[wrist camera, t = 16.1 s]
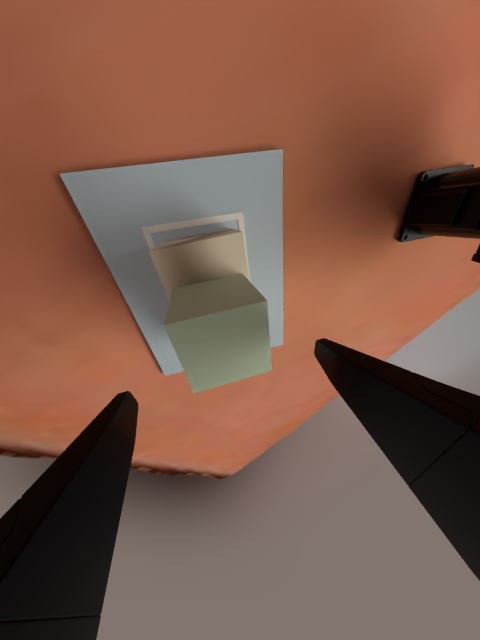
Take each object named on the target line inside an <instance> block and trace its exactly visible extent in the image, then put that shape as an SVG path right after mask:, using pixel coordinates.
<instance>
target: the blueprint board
mask: <svg viewBox="0 0 480 640" xmlns="http://www.w3.org/2000/svg"><path fill="white" fill-rule="evenodd" d="M60 176H61V178H62V180H63V182H64V184H65V186H66V188H67V189H68V191H69V193H70V195H71V197H72V199H73V201H74V203H75V205H76V207H77V209H78V210H79V212H80V214H81V216H82V218H83V220H84V222H85V224H86V226H87V228H88V230H89V231H90V233H91V235H92V237H93V239H94V241H95V243H96V245H97V247H98V249H99V251H100V252H101V254H102V256H103V258H104V260H105V262H106V264H107V266H108V268H109V270H110V272H111V273H112V275H113V277H114V279H115V281H116V283H117V285H118V287H119V289H120V291H121V293H122V294H123V296H124V298H125V300H126V302H127V304H128V306H129V308H130V310H131V312H132V314H133V315H134V317H135V319H136V321H137V323H138V325H139V327H140V329H141V331H142V333H143V335H144V336H145V338H146V340H147V342H148V344H149V346H150V348H151V350H152V352H153V354H154V356H155V358H156V359H157V361H158V363H159V365H160V367H161V369H162V371H163V373H164V375H165V376H167V375H171V374H174V373H178V372H182V371H184V370H183V368H182V365H181V363H180V361H179V359H178V357H177V354H176V352H175V350H174V348H173V345H172V343H171V341H170V339H169V337H168V334H167V332H166V330H165V328H164V322H165V318H166V314H167V311H168V307H169V303H170V300H169V298H168V296H167V293H166V291H165V289H164V286H163V284H162V282H161V279H160V277H159V275H158V272H157V270H156V268H155V265H154V263H153V261H152V258H151V256H150V254H149V251H150V250H152V249H153V248H154V247H156V246H157V245H158V244H160V243H161V242H166V241H170V240H175V239H180V238H185V237H189V236H194V235H199V234H203V233H208V232H213V231H217V230H222V229H227V228H231V229H235V230H238V231H242V233H243V240H244V247H245V253H246V260H247V267H248V274H249V280H250V282H251V283H252V284H253V286H254V287H255V288H256V289H257V290H258V291H259V292H260V293H261V294H262V295H263V296H264V298H265V299H266V300H267V303H268V318H269V334H270V348H272V347H276V346H280V345H283V149H277V150H268V151H259V152H250V153H241V154H232V155H223V156H214V157H205V158H196V159H187V160H178V161H169V162H160V163H151V164H142V165H133V166H124V167H114V168H105V169H96V170H87V171H78V172H69V173H60Z"/></svg>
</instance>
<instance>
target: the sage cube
mask: <svg viewBox="0 0 480 640" xmlns="http://www.w3.org/2000/svg"><path fill="white" fill-rule="evenodd" d="M164 328H165V330H166V332H167V334H168V337H169V339H170V341H171V343H172V345H173V348H174V350H175V352H176V354H177V357H178V359H179V361H180V363H181V365H182V368H183V370H184V372H185V374H186V377H187V379H188V381H189V383H190V386H191V388H192V390H193V392H194V393H198V392H201V391H205V390H208V389H211V388H215V387H218V386H222V385H225V384H229V383H232V382H235V381H239V380H242V379H246V378H249V377H253V376H256V375H259V374H263V373H266V372H270V371H272V364H271V349H270V334H269V318H268V303H267V300H266V299H265V298H264V296H263V295H262V294H261V293H260V292H259V291H258V290H257V289H256V288H255V287H254V286H253V284H252V283H251V282H250V281H249V280H248V279H247V278H246V277H245V276H244V275H243V274H239V275H234V276H229V277H225V278H220V279H215V280H211V281H206V282H201V283H197V284H192V285H187V286H183V287H178V288H173V292H172V296H171V300H170V303H169V307H168V311H167V314H166V318H165V322H164Z"/></svg>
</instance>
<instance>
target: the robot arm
mask: <svg viewBox="0 0 480 640" xmlns="http://www.w3.org/2000/svg"><path fill="white" fill-rule="evenodd" d="M431 236H447V237H461V238H476V239H480V167H477V168H474V165H473V164H472V165H465V166H458V167H451V168H444V169H437V170H430V171H425V172H422V173H420V174H419V176H418V178H417V181H416V184H415V187H414V190H413V194H412V197H411V200H410V203H409V206H408V209H407V213H406V216H405V219H404V222H403V225H402V228H401V232H400V235H399V238H398V241H399V242H407V241H412V240H417V239H422V238H426V237H431ZM471 260H472V261H475V262H478V263H480V244H479V247H478V249H477V251H476V253H475V254H474V255H473V257H472V259H471ZM314 354H315V357H316V358H317V360H318V362H319V363H320V365H321V367H322V368H323V370H324V372H325V373H326V375H327V377H328V378H329V380H330V382H331V383H332V384H333V386H334V387H335V389H336V390H337V391H338V393H339V394H340V395H341V397H342V398H343V399H344V401H345V402H346V403H347V405H348V406H349V407H350V409H351V410H352V411H353V413H354V414H355V415H356V417H357V418H358V419H359V421H360V422H361V423H362V425H363V426H364V427H365V429H366V430H367V431H368V433H369V434H370V435H371V437H372V438H373V439H374V441H375V442H376V443H377V445H378V446H379V447H380V449H381V450H382V451H383V453H384V454H385V455H386V457H387V458H388V459H389V461H390V462H391V463H392V465H393V466H394V467H395V469H396V470H397V471H398V473H399V474H400V476H401V477H402V478H403V480H404V481H405V482H406V483H407V485H408V486H409V488H410V489H411V490H412V492H413V493H414V494H415V496H416V497H417V498H418V500H419V501H420V502H421V504H422V505H423V506H424V508H425V509H426V511H427V512H428V513H429V514H430V516H431V517H432V519H433V520H434V521H435V522H436V524H437V525H438V526H439V528H440V529H441V531H442V532H443V533H444V535H445V536H446V537H447V538H448V540H449V541H450V543H451V544H452V545H453V547H454V548H455V549H456V551H457V552H458V553H459V555H460V556H461V557H462V559H463V560H464V561H465V563H466V564H467V565H468V567H469V568H470V569H471V570H472V572H473V573H474V574H475V576H476V577H477V578H478V579H479V580H480V396H478V395H475V394H472V393H469V392H466V391H463V390H460V389H457V388H454V387H452V386H449V385H446V384H443V383H440V382H437V381H435V380H432V379H429V378H427V377H424V376H421V375H419V374H416V373H412V372H411V371H408V370H406V369H403V368H401V367H398V366H395V365H393V364H390V363H388V362H385V361H382V360H380V359H377V358H375V357H372V356H369V355H367V354H364V353H362V352H359V351H356V350H354V349H351V348H349V347H346V346H343V345H341V344H338V343H336V342H333V341H330V340H328V339H325V338H323V339H319V340H316V342H315V350H314ZM137 416H138V402H137V401H136V399H135V398H134V397H133V395H132V394H131V392H129V391H126V392H122V393H119V394H117V395H116V396H115V397H114V398H113V400H112V401H111V402H110V403H109V404H108V405H107V406H106V407H105V408H104V409H103V410H102V411H101V412H100V413H99V414H98V415H97V417H96V418H95V419H94V420H93V421H92V422H91V423H90V424H89V425H88V426H87V427H86V428H85V429H84V430H83V431H82V432H81V434H80V435H79V436H78V437H77V438H76V439H75V440H74V441H73V442H72V443H71V444H70V445H69V446H68V447H67V448H66V450H65V451H64V452H63V453H62V454H61V455H60V456H59V457H58V458H57V459H56V460H55V461H54V462H53V463H52V465H51V466H50V467H49V468H48V469H47V470H46V471H45V472H44V473H43V474H42V475H41V476H40V477H39V478H38V479H37V480H36V481H35V483H34V484H33V485H32V486H31V487H30V488H29V489H28V490H27V491H26V492H25V493H24V494H23V495H22V497H21V499H19V500H18V501H17V502H16V503H15V504H14V505H13V506H12V507H11V508H10V509H9V510H8V511H7V512H6V513H5V514H4V515H3V516H2V517H1V519H0V640H96V638H97V633H98V628H99V623H100V617H101V616H100V614H101V612H102V607H103V602H104V597H105V592H106V587H107V582H108V577H109V571H110V566H111V561H112V556H113V551H114V546H115V541H116V535H117V531H118V526H119V521H120V516H121V511H122V506H123V501H124V496H125V491H126V486H127V481H128V476H129V471H130V466H131V461H132V456H133V451H134V445H135V438H136V427H137Z"/></svg>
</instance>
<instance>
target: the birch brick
mask: <svg viewBox="0 0 480 640" xmlns="http://www.w3.org/2000/svg"><path fill="white" fill-rule="evenodd" d="M149 254H150V256H151V258H152V261H153V263H154V265H155V268H156V270H157V272H158V275H159V277H160V279H161V282H162V284H163V286H164V289H165V291H166V293H167V296H168V298H169V300H171V296H172V292H173V288H178V287H183V286H187V285H192V284H197V283H201V282H206V281H211V280H215V279H220V278H225V277H229V276H234V275H239V274H243V275H244V276H245V277H246V278H247V279H248V280H249V274H248V267H247V260H246V253H245V247H244V240H243V233H242V231H238V230H235V229H231V228H227V229H222V230H217V231H213V232H208V233H203V234H199V235H194V236H189V237H185V238H180V239H175V240H170V241H166V242H161V243H160V244H158V245H157V246H156V247H154V248H153V249H152V250H150V251H149ZM249 281H250V280H249Z"/></svg>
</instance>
